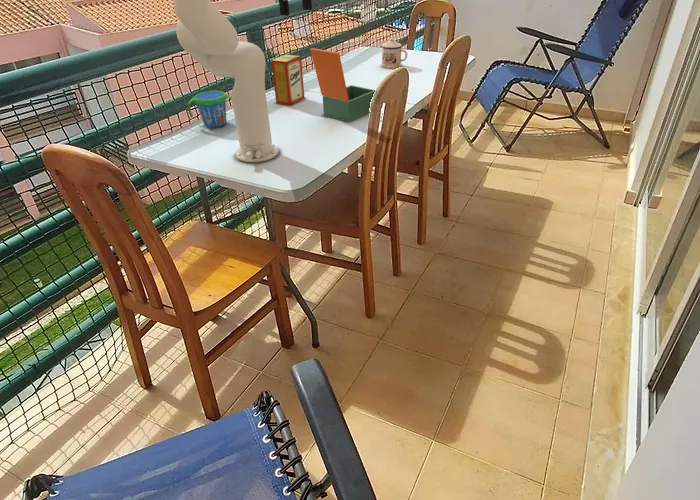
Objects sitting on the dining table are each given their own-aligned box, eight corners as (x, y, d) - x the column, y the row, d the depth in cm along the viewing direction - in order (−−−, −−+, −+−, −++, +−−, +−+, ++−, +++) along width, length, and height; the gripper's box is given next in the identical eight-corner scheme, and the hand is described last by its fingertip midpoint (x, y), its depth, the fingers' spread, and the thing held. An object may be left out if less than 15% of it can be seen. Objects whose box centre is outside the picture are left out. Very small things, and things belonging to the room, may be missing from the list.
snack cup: (189, 131, 165) (182, 101, 159) (195, 120, 174) (189, 91, 168) (236, 128, 166) (231, 98, 160) (239, 118, 174) (235, 89, 169)
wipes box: (351, 103, 184) (351, 85, 180) (376, 109, 177) (376, 90, 174) (323, 115, 174) (322, 96, 170) (349, 121, 168) (348, 102, 164)
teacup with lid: (378, 67, 225) (378, 40, 218) (385, 62, 231) (386, 36, 225) (403, 69, 220) (404, 41, 214) (410, 64, 227) (411, 37, 220)
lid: (311, 47, 158) (310, 49, 158) (339, 52, 152) (337, 53, 152) (323, 94, 170) (321, 95, 170) (349, 100, 164) (347, 101, 163)
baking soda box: (290, 105, 184) (285, 60, 175) (276, 103, 187) (271, 59, 178) (304, 98, 191) (300, 54, 182) (290, 96, 194) (286, 53, 185)
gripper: (277, -53, 128) (285, 18, 138) (320, -58, 139) (325, 8, 149) (257, -53, 132) (266, 16, 142) (301, -58, 143) (306, 6, 153)
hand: (296, 12), depth 146 cm, fingers open, 9 cm apart
